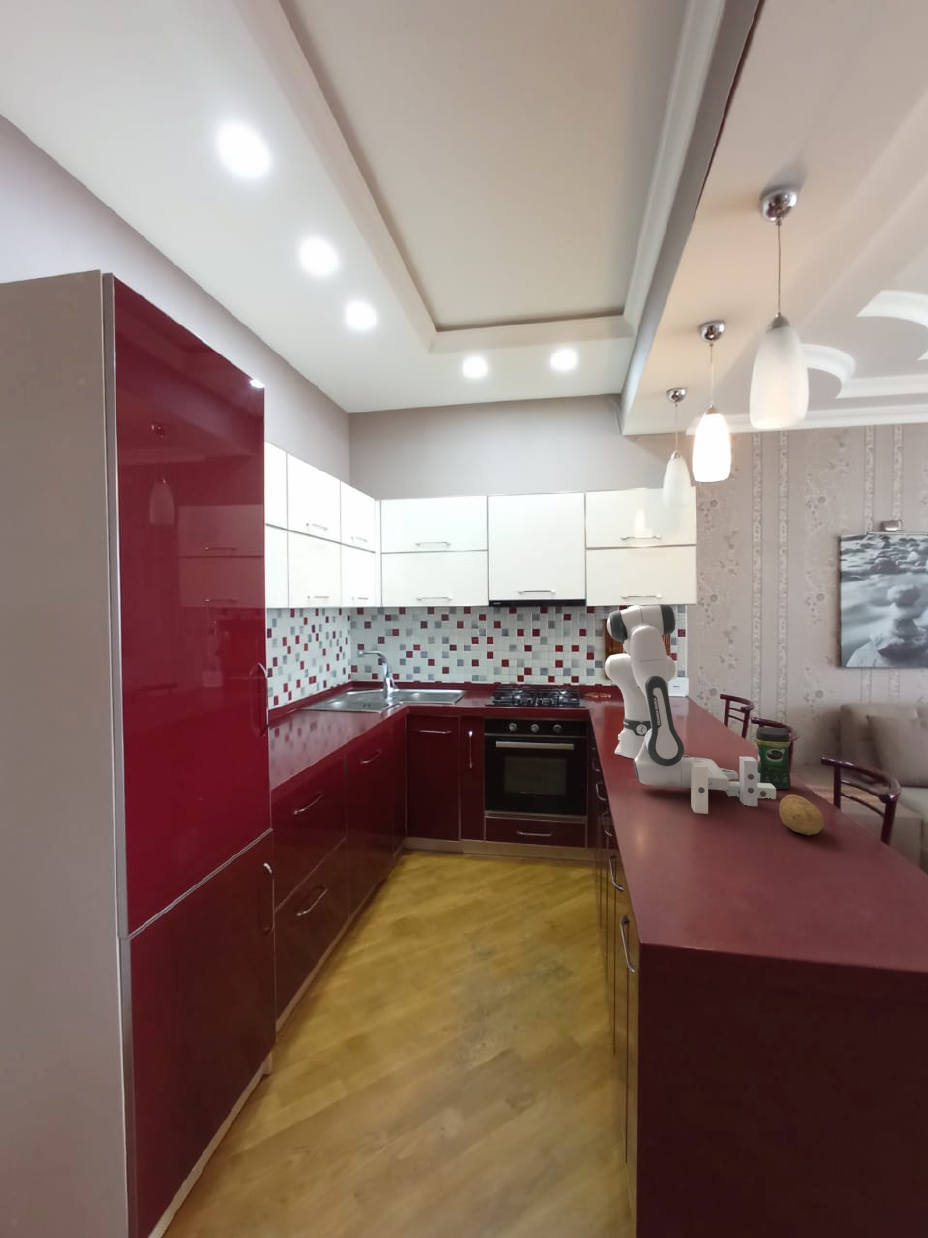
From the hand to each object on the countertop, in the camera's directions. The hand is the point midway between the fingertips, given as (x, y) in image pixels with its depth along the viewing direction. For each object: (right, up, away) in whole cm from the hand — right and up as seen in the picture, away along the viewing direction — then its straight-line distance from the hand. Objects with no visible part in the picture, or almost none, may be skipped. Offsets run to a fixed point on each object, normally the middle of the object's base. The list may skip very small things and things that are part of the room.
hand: (737, 774), depth 165 cm
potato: (+3, -7, -27) cm, 28 cm away
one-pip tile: (-16, -7, -12) cm, 21 cm away
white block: (-3, -5, +1) cm, 5 cm away
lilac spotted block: (0, -6, -7) cm, 9 cm away
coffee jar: (+15, -6, +7) cm, 18 cm away
